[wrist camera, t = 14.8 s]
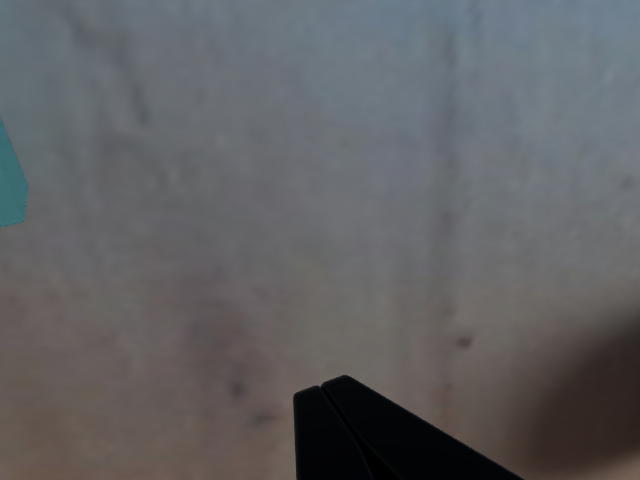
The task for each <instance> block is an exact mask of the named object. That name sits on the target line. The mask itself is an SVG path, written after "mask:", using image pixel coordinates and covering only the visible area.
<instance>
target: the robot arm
mask: <svg viewBox="0 0 640 480" xmlns="http://www.w3.org/2000/svg"><path fill="white" fill-rule="evenodd" d="M293 406H294V430H295V455H296V479H297V480H524V479H523V478H521V477H519V476H518V475H516V474H514V473H513V472H511V471H509V470H507V469H506V468H504V467H502V466H501V465H499V464H497V463H496V462H494V461H492V460H491V459H489V458H487V457H485V456H484V455H482V454H480V453H479V452H477V451H475V450H474V449H472V448H470V447H469V446H467V445H465V444H464V443H462V442H460V441H458V440H457V439H455V438H453V437H452V436H450V435H448V434H447V433H445V432H443V431H442V430H440V429H438V428H436V427H435V426H433V425H431V424H430V423H428V422H426V421H425V420H423V419H421V418H420V417H418V416H416V415H414V414H413V413H411V412H409V411H408V410H406V409H404V408H403V407H401V406H399V405H398V404H396V403H394V402H392V401H391V400H389V399H387V398H386V397H384V396H382V395H381V394H379V393H377V392H376V391H374V390H372V389H371V388H369V387H367V386H365V385H364V384H362V383H360V382H359V381H357V380H355V379H354V378H352V377H350V376H347V375H342V376H340V377H337V378H334V379H332V380H329V381H326V382H324V383H323V384H322V385H321V387H320V386H317V385H316V386H313V387H310V388H307V389H305V390H302V391H299V392H297V393H295V394H294V397H293Z"/></svg>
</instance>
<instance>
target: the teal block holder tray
mask: <svg viewBox="0 0 640 480" xmlns="http://www.w3.org/2000/svg"><path fill="white" fill-rule="evenodd" d="M27 187H28V186H27V183H26V181H25V178H24V176H23V173H22V171H21V169H20V166H19V164H18V161H17V159H16V156H15V154H14V151H13V149H12V146H11V144H10V142H9V139H8V137H7V134H6V132H5V129H4V127H3V124H2V122H1V119H0V227H4V226H8V225H12V224H16V223H20V222H24V216H25V206H26V197H27Z"/></svg>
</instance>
